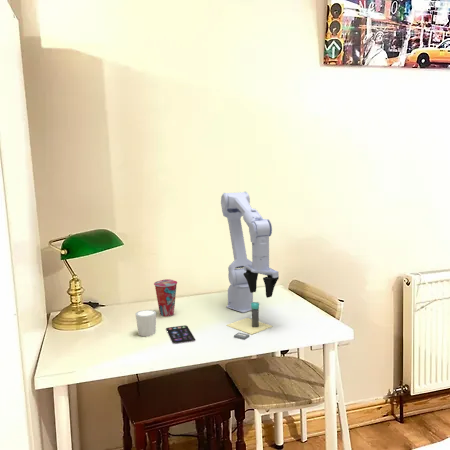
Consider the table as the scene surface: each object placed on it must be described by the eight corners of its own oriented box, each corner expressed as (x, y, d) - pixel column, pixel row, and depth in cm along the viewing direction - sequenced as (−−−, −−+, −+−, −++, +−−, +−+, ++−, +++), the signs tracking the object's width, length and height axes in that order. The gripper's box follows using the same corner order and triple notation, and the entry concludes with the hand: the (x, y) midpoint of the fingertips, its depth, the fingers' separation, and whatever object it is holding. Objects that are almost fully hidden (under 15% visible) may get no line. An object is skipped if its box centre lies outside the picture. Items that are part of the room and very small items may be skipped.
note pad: (226, 325, 173) (226, 324, 173) (247, 318, 179) (247, 317, 179) (251, 334, 164) (251, 333, 164) (272, 326, 171) (272, 326, 171)
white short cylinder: (134, 331, 169) (133, 311, 168) (154, 328, 172) (153, 308, 171) (139, 338, 163) (138, 317, 162) (159, 334, 166) (158, 314, 165)
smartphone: (186, 324, 174) (196, 340, 160) (187, 326, 174) (196, 342, 160) (165, 327, 172) (172, 343, 158) (165, 329, 172) (172, 345, 158)
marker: (249, 326, 171) (249, 303, 170) (255, 324, 173) (255, 301, 171) (255, 328, 169) (255, 305, 168) (260, 326, 171) (260, 303, 169)
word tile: (233, 337, 162) (233, 335, 162) (238, 334, 165) (238, 332, 165) (244, 339, 160) (244, 337, 160) (249, 336, 163) (249, 334, 162)
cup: (181, 315, 184) (180, 283, 182) (159, 319, 180) (158, 287, 179) (173, 308, 192) (171, 278, 190) (151, 312, 189) (150, 281, 187)
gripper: (237, 254, 173) (238, 292, 175) (268, 261, 162) (268, 301, 165) (251, 251, 178) (252, 288, 180) (282, 257, 167) (282, 296, 169)
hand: (261, 294), depth 173 cm, fingers open, 7 cm apart
